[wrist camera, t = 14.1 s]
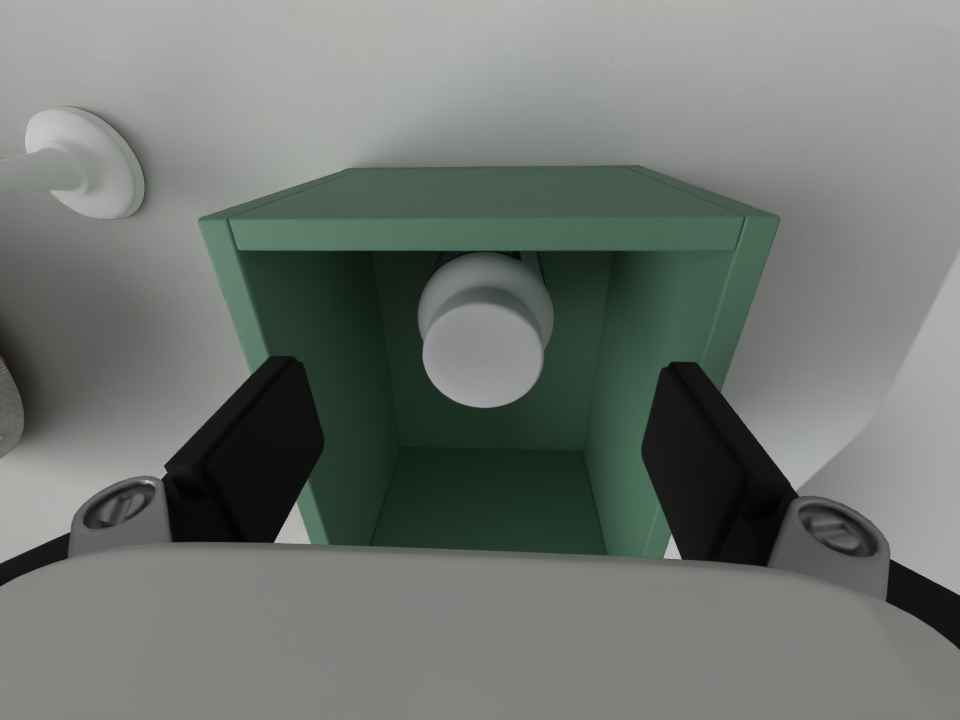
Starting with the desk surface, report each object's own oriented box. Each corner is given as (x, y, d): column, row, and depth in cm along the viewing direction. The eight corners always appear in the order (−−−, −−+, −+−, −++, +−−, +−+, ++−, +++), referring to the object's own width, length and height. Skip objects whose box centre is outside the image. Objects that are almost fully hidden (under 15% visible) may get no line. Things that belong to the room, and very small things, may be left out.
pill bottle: (417, 271, 21) (367, 359, 13) (487, 192, 19) (474, 243, 11) (492, 335, 23) (485, 446, 15) (563, 270, 21) (597, 359, 13)
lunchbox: (348, 168, 20) (194, 218, 10) (639, 165, 19) (783, 216, 9) (393, 446, 28) (335, 617, 19) (591, 451, 28) (638, 631, 18)
